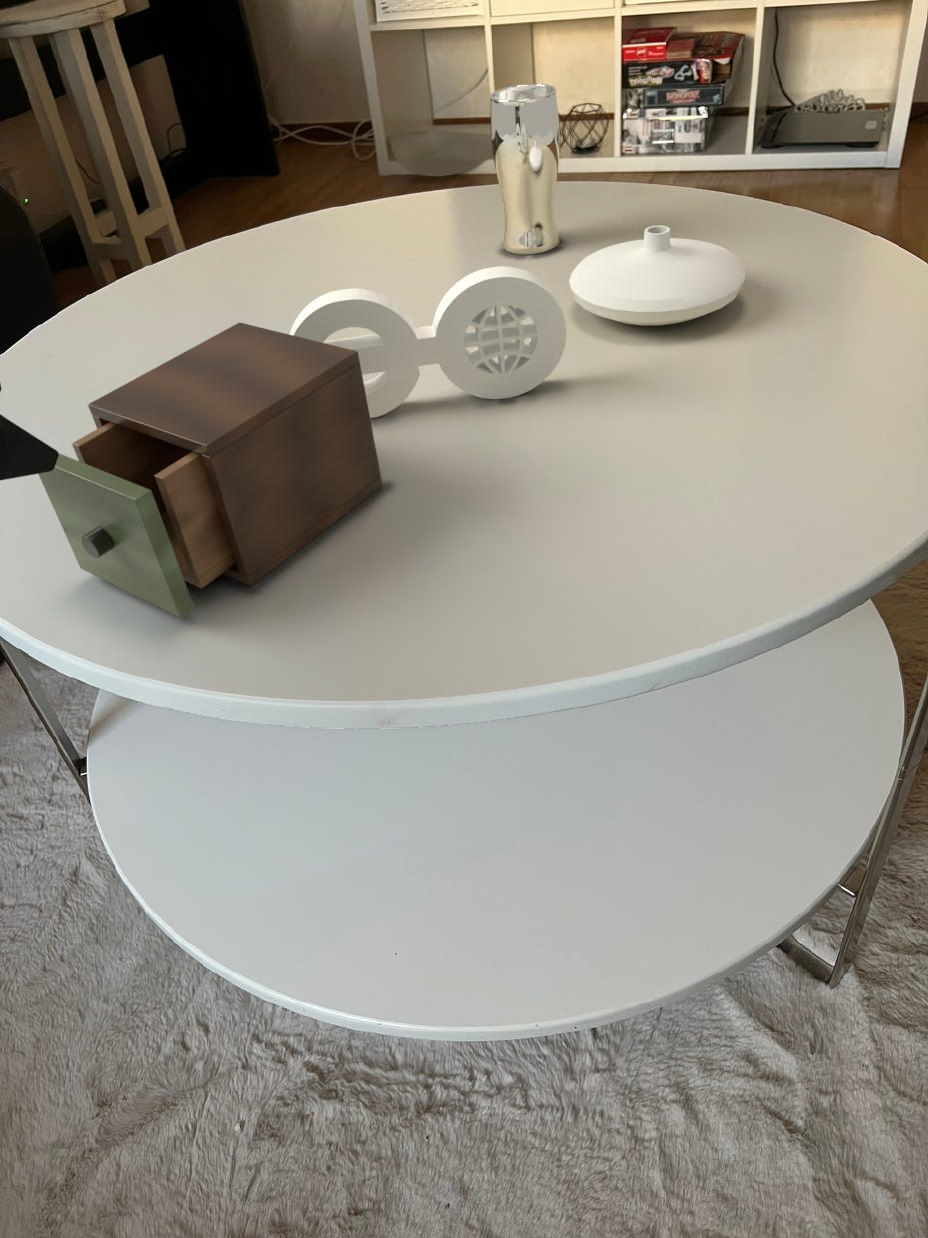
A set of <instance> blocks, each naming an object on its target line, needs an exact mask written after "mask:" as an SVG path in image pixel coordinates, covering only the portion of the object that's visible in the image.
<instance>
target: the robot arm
mask: <svg viewBox="0 0 928 1238" xmlns="http://www.w3.org/2000/svg"><path fill="white" fill-rule="evenodd" d="M1 392H2V384H1V383H0V393H1ZM58 456H59V451H58V450H57V449H55V448H54V447H52V446H51V445H49V444H47V443H46V442H44V441H43V440H41V439H39V438H37V437H36V436H35V435H33V434H32V433H30V432H29V431H27V430H25V429H24V428H22V427H21V426H19V425H18V424H16V423H15V422H13V421H11V419H8V418H7V417H5V416H4V415H2V414H1V413H0V481H6V480H11V479H16V478H22V477H27V476H34V475H39V474H40V473H45V472H51V471H52V470H53V469H54V468H55V465H56V462H57V459H58Z"/></svg>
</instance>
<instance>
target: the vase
mask: <svg viewBox="0 0 928 1238" xmlns="http://www.w3.org/2000/svg"><path fill="white" fill-rule="evenodd" d="M643 233H644V235H643V239H637V240H635V239H634V240H630V241H625V242H621V243H616V244H612V245H609V246H607V247H604V248H601V249H598V250H596V251H594V252H593V253H591V254H589V255H587V256H585V257H584V258H583V259H582V260H581V261H580V262H579V263H578V264H577V265H576V267H575V268H574V269H573V271H572V272H571V275H570V277H569V280H568V283H569V287H570V289H571V293H572V295H573V297H574V300H575V302H576V303H577V304H578V305H579V306H580V307H581V308H582V309H583V310H586V311H588V312H590V313H592V314H594V315H596V316H598V317H602V318H605V319H608V320H611V321H615V322H619V323H623V324H627V325H633V326H634V325H635V326H665V325H675V324H679V323H683V322H687V321H691V320H694V319H697V318H699V317H703V316H705V315H707V314H710V313H712V312H715V311H718V310H720V309H722V308H724V307H725V306H728V304H730V303H731V302H733V301H734V300H736V298H737V296H738V295H739V293H740V292H741V289H742V287H743V285H744V283H745V280H746V268H745V267H744V266H743V263H741V261H740V260H739V258H738V257H737V256H736V255H735V254H734V253H733V252H731V251H730V250H728V249H727V248H725V247H723V246H720V245H717V244H715V243H711V242H708V241H702V240H697V239H693V238H692V239H691V238H679V237H678V238H677V237H671V228H670V227H669V226H666V225H652V226H648V227H646V228H645V229H644V231H643Z"/></svg>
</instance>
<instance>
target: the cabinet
mask: <svg viewBox="0 0 928 1238" xmlns="http://www.w3.org/2000/svg"><path fill="white" fill-rule="evenodd" d="M359 362H360V360H359V355H358V351H354V350H350V349H346V348H342V347H338V346H334V345H330V344H326V343H322V342H318V341H314V340H309V339H305V338H301V337H297V336H293V335H290V333H289V334H288V333H285V332H281V331H277V330H272V329H269V328H264V327H260V326H256V325H252V324H248V323H244V322H238V323H236V324H233V325H232V326H230V327H228V328H226V329H225V330H222V331H220V332H219V333H217V334H215V335H213V336H212V337H209V338H207V339H206V340H203V341H202V342H200V343H198V344H196V345H195V346H193V347H191V348H189V349H187V350H186V351H184V352H182V353H180V354H178V355H177V356H175V357H173V358H171V359H169V360H167V361H165V362H164V363H162V364H159V365H158V366H156V367H154V368H153V369H151V370H149V371H147V372H145V373H143V374H141V375H139V376H137V377H136V378H134V379H131V380H130V381H128V382H127V383H125V384H123V385H121V386H119V387H118V388H115V389H113V390H111V391H110V392H108V393H106V394H104V395H102V396H100V397H99V398H97V399H95V400H93V401H92V402H90V403H88V404H87V407H88V410H89V411H90V414H91V417H92V419H93V422H94V425H95V427H96V429H98V428H100V427H102V426H104V425H105V424H107V423H109V422H113V423H116V424H118V425H121V426H124V427H127V428H130V429H132V430H135V431H138V432H141V433H144V434H147V435H149V436H152V437H155V438H158V439H161V440H163V441H166V442H169V443H172V444H175V445H177V446H180V447H183V448H186V449H189V450H191V451H194V452H197V453H200V454H203V455H202V456H203V460H204V463H205V466H206V469H207V472H208V475H209V478H210V482H211V485H212V488H213V491H214V494H215V497H216V500H217V504H218V507H219V510H220V513H221V516H222V519H223V522H224V526H225V529H226V532H227V535H228V538H229V541H230V544H231V548H232V551H233V554H234V557H235V560H236V564H234V565H233V566H232V567H230V568H229V569H227V570H226V571H225V572H223V573H222V574H221V575H223V576H226V577H228V578H230V579H233V580H235V581H237V582H240V583H242V584H244V585H247V586H249V587H252V586H253V585H254V584H255V583H257V582H258V581H259V580H262V578H263V577H265V576H267V574H269V573H270V572H272V571H273V570H274V569H276V568H277V567H278V566H279V565H281V564H282V563H283V562H285V561H286V560H287V559H289V558H290V557H292V555H294V554H295V553H296V552H298V551H299V550H300V549H302V548H303V547H304V546H306V545H307V544H308V543H310V542H311V541H312V540H313V539H315V538H316V537H317V536H319V535H320V534H321V533H323V532H324V531H325V530H326V529H329V527H331V526H332V525H333V524H334V523H336V522H337V521H338V520H340V519H341V518H342V517H343V516H345V515H346V514H348V513H349V512H350V511H351V510H353V509H354V508H355V507H357V506H358V505H359V504H360V503H362V502H363V501H365V500H366V499H367V498H369V497H370V496H371V495H372V494H373V493H375V492H376V491H378V490H379V489H380V488H382V487H383V480H382V475H381V470H380V469H381V468H380V464H379V458H378V453H377V448H376V443H375V436H374V431H373V426H372V420H371V418H370V415H369V409H368V404H367V398H366V393H365V388H364V382H365V381H364V377H363V375H362V371H361V366H360V363H359Z"/></svg>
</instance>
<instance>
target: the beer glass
mask: <svg viewBox="0 0 928 1238" xmlns="http://www.w3.org/2000/svg"><path fill="white" fill-rule="evenodd" d="M489 98H490V142H491V150H492V151H491V152H492V159H493V163H494V169H495V173H496V177H497V182H498V185H499V190H500V193H501V198H502V202H503V208H504V217H505V225H504V235H503V248H504V250H505V251H507V252H508V253H511V254H514V255H524V256H525V255H527V256H528V255H537V254H538V255H539V254H542V253H546V252H549V251H551V250H553V249H555V248H556V247H558V246H559V244H560V235H559V231H558V226H557V222H556V215H555V213H556V212H555V199H556V190H557V189H556V188H557V181H558V174H559V164H560V154H561V153H560V152H561V131H560V117H559V107H558V100H557V88H556V87H555V86H553V85H550V84H547V83H546V84H544V83H525V84H517V85H511V86H506V87H503V88H502V87H501V88H499V89H496V90H494V91H492V92H491V94H490V95H489Z"/></svg>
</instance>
